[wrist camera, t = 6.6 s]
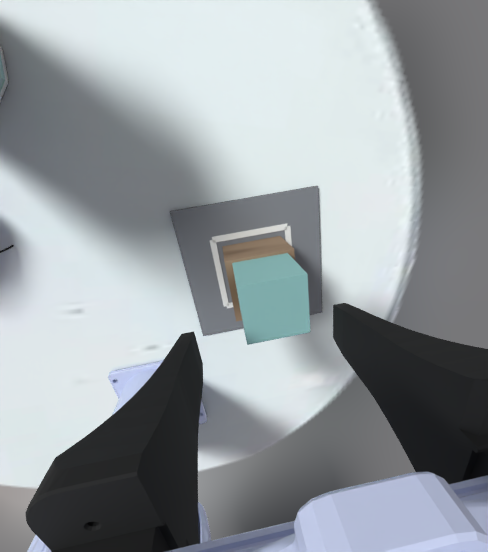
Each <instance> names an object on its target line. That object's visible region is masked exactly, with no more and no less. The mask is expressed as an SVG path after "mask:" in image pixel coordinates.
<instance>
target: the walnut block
mask: <svg viewBox="0 0 488 552" xmlns="http://www.w3.org/2000/svg"><path fill="white" fill-rule="evenodd" d="M222 247H223V255H224V262H225V267H226V272H227V277H228V282H229V287H230V292H231V297H232V303H233V308H234V313H235V318H236V321H241V320H242V316H241V311H240V305H239V299H238V294H237V288H236V283H235V277H234V271H233V266H232V263H234V262H240V261H245V260H251V259H257V258H262V257H268V256H273V255H279V254H284V253H288V254H289V255H290V256H291V257H292V258H293V259H294V260H295V254H294V248H293V247H292V246H291V245H290V244H288V243H287V242H286V241H285V240H284V239H283V238H282V237H281V236H276V237H270V238H265V239H260V240H254V241H249V242H243V243H238V244H232V245H227V246H222Z"/></svg>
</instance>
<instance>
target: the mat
mask: <svg viewBox="0 0 488 552" xmlns="http://www.w3.org/2000/svg"><path fill="white" fill-rule="evenodd" d="M170 214H171V218H172V221H173V225H174V229H175V232H176V236H177V240H178V244H179V247H180V251H181V255H182V258H183V262H184V266H185V270H186V273H187V277H188V281H189V285H190V288H191V292H192V296H193V299H194V303H195V307H196V311H197V314H198V318H199V322H200V325H201V329H202V333H203V336H206V335H211V334H216V333H221V332H226V331H231V330H236V329H241V328H244V326H243V321H242V320H241V321H236V318H235V313H234V308H233V303H232V297H231V292H230V287H229V282H228V277H227V272H226V267H225V262H224V255H223V247H222V246H227V245H232V244H238V243H243V242H249V241H254V240H260V239H265V238H270V237H276V236H281V237H282V238H283V239H284V240H285V241H286V242H287V243H288V244H290V245H291V246H292V247H293V248H294V254H295V261H296V262H297V263H298V264H299V265H300V266H301V268H302V269H303V270H304V271H305V272H306V273H307V275H308V295H309V315H311V314H316V313H321V312H322V289H321V259H320V229H319V199H318V186H313V187H307V188H301V189H295V190H290V191H284V192H278V193H273V194H267V195H261V196H255V197H250V198H244V199H238V200H232V201H227V202H221V203H215V204H210V205H204V206H198V207H192V208H187V209H181V210H175V211H170Z"/></svg>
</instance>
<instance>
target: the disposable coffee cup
mask: <svg viewBox="0 0 488 552" xmlns="http://www.w3.org/2000/svg"><path fill="white" fill-rule="evenodd" d="M8 82H9V81H8V76H7V70H6V65H5V60H4V54H3V49H2V48H1V46H0V102H1V99H2V97H3V94H4V92H5V89H6V87H7V84H8Z"/></svg>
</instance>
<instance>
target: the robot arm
mask: <svg viewBox="0 0 488 552" xmlns="http://www.w3.org/2000/svg"><path fill="white" fill-rule="evenodd" d="M333 338H334V340H335V342H336V344H337V346H338V347H339V349H340V351H341V353H342V354H343V356H344V357H345V359H346V360H347V361H348V363H349V364H350V366H351V367H352V368H353V370H354V371H355V372H356V374H357V375H358V376H359V378H360V379H361V380H362V382H363V383H364V384H365V386H366V387H367V388H368V390H369V391H370V393H371V394H372V395H373V397H374V398H375V400H376V402H377V403H378V405H379V406H380V408H381V410H382V412H383V413H384V415H385V417H386V418H387V420H388V422H389V423H390V425H391V427H392V428H393V430H394V432H395V434H396V436H397V438H398V439H399V441H400V443H401V445H402V446H403V448H404V450H405V452H406V454H407V456H408V458H409V460H410V461H411V463H412V465H413V467H414V469H415V471H416V472H413V473H408V474H404V475H399V476H395V477H391V478H386V479H382V480H378V481H373V482H369V483H365V484H360V485H356V486H352V487H347V488H343V489H339V490H335V491H331V492H327V493H325V494H322V495H320V496H317V497H315V498H312V499H311V500H309V501H308V502H307V503H306V504H305V505H303V506H302V507H301V508H300V509H299V511H298V514H297V517H296V519H295V521H292V522H288V523H284V524H279V525H275V526H271V527H267V528H262V529H258V530H254V531H250V532H245V533H241V534H237V535H233V536H229V537H225V538H220V539H216V540H212V541H211V535H210V528H209V524H208V520H207V515H206V512H205V509H204V507H203V506H202V505H201V503H199V502H198V480H197V479H198V478H197V477H198V426H199V424H203V423H205V422H206V421H207V415H206V412H205V409H204V406H203V402H202V399H201V397H202V387H203V363H202V360H201V356H200V352H199V349H198V345H197V341H196V337H195V334H194V332H190V333H184V334H181V336H180V337H179V339H178V340H177V342H176V343H175V345H174V346H173V348H172V349H171V351H170V352H169V353H168V355H167V356H166V358H165V359H164V360H163V361H160V362H155V363H150V364H145V365H140V366H135V367H131V368H126V369H121V370H116V371H112V372H110V374H109V376H108V378H109V380H110V382H111V384H112V386H113V388H114V390H115V392H116V394H117V396H118V398H119V400H118V403H117V405H116V407H115V410H114V412H113V415H112V416H111V417H110V418H109V419H107V420H106V421H105V422H104V423H103V424H101V425H100V426H99V427H97V428H96V429H95V430H94V431H92V432H91V433H90V434H88V435H87V436H86V437H85V438H83V439H82V440H80V441H79V442H77V443H76V444H75V445H73V446H72V447H70V448H69V449H68V450H66V451H65V452H63V453H62V454H60V455H59V456H57V457H56V458H55V460H54V461H53V463H52V465H51V466H50V468H49V470H48V471H47V473H46V475H45V477H44V479H43V480H42V482H41V484H40V486H39V488H38V489H37V491H36V493H35V495H34V497H33V499H32V500H31V502H30V504H29V506H28V508H27V511H26V521H27V524H28V525H29V527H30V528H31V530H32V531H33V532H34V533H35V534H36V535H35V537H34V539H33V541H32V543H31V545H30V547H29V549H28V551H27V552H488V349H484V348H479V347H473V346H468V345H464V344H459V343H455V342H450V341H446V340H442V339H438V338H435V337H431V336H428V335H425V334H422V333H418V332H415V331H412V330H409V329H406V328H404V327H401V326H398V325H396V324H393V323H391V322H388V321H386V320H383V319H381V318H379V317H376V316H374V315H372V314H370V313H367V312H365V311H363V310H361V309H358V308H356V307H354V306H351V305H349V304H346V303H342V304H337V305H333ZM115 379H116V380H115Z"/></svg>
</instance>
